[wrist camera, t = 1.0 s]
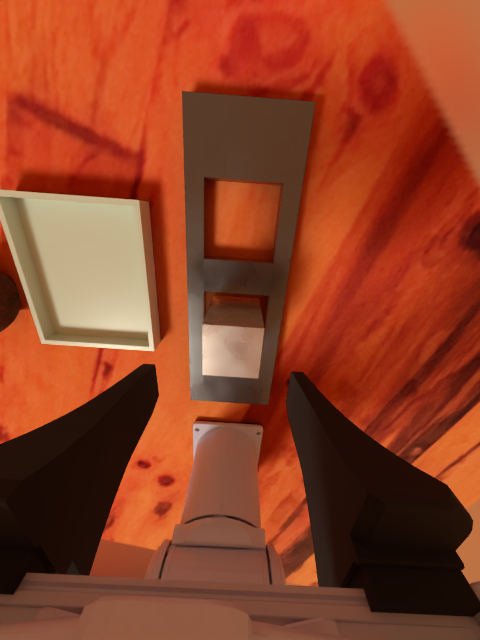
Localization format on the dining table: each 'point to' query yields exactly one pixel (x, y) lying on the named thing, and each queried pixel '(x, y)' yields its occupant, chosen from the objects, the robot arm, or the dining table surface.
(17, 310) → the bolt
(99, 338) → the tray
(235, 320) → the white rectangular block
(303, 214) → the dining table surface
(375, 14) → the dining table surface
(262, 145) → the metal plate with holes
